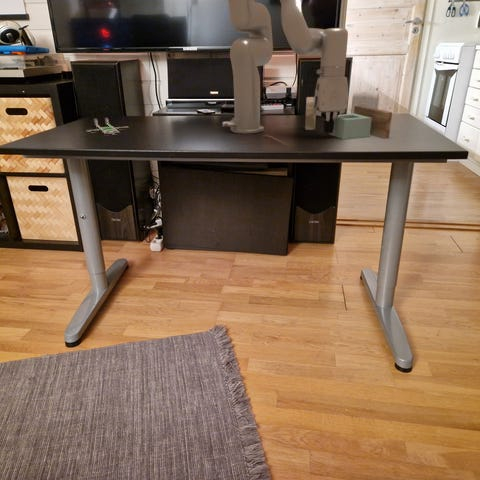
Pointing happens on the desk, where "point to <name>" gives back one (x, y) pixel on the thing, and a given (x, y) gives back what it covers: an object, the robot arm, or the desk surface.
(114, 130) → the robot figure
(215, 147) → the desk surface
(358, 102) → the photo printer
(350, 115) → the block
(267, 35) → the robot arm
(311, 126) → the dowel
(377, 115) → the board
